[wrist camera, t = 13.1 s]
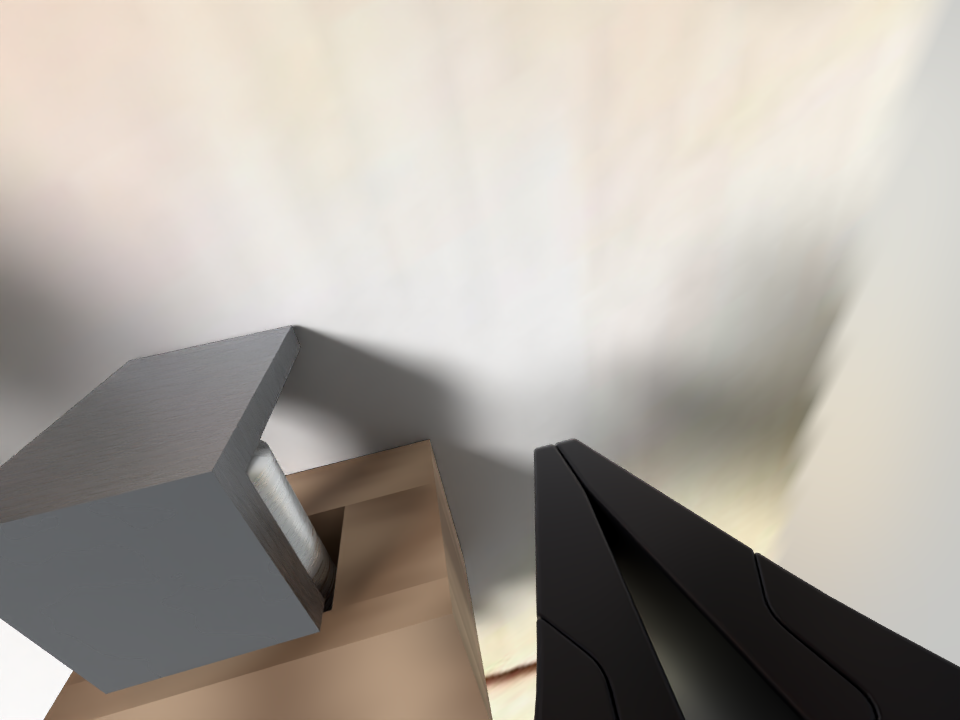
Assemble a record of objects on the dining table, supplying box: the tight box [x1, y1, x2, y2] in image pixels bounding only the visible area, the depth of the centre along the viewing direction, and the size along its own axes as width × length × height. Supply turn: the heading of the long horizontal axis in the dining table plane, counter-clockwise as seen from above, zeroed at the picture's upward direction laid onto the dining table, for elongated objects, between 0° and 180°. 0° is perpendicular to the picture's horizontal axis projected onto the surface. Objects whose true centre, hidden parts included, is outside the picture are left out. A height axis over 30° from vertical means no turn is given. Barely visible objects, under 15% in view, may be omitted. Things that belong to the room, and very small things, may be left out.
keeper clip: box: [0, 325, 325, 694], centre depth 11 cm, size 5×6×7 cm
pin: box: [246, 440, 337, 612], centre depth 14 cm, size 5×14×5 cm, turn 9°
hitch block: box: [44, 439, 492, 720], centre depth 15 cm, size 10×8×7 cm
